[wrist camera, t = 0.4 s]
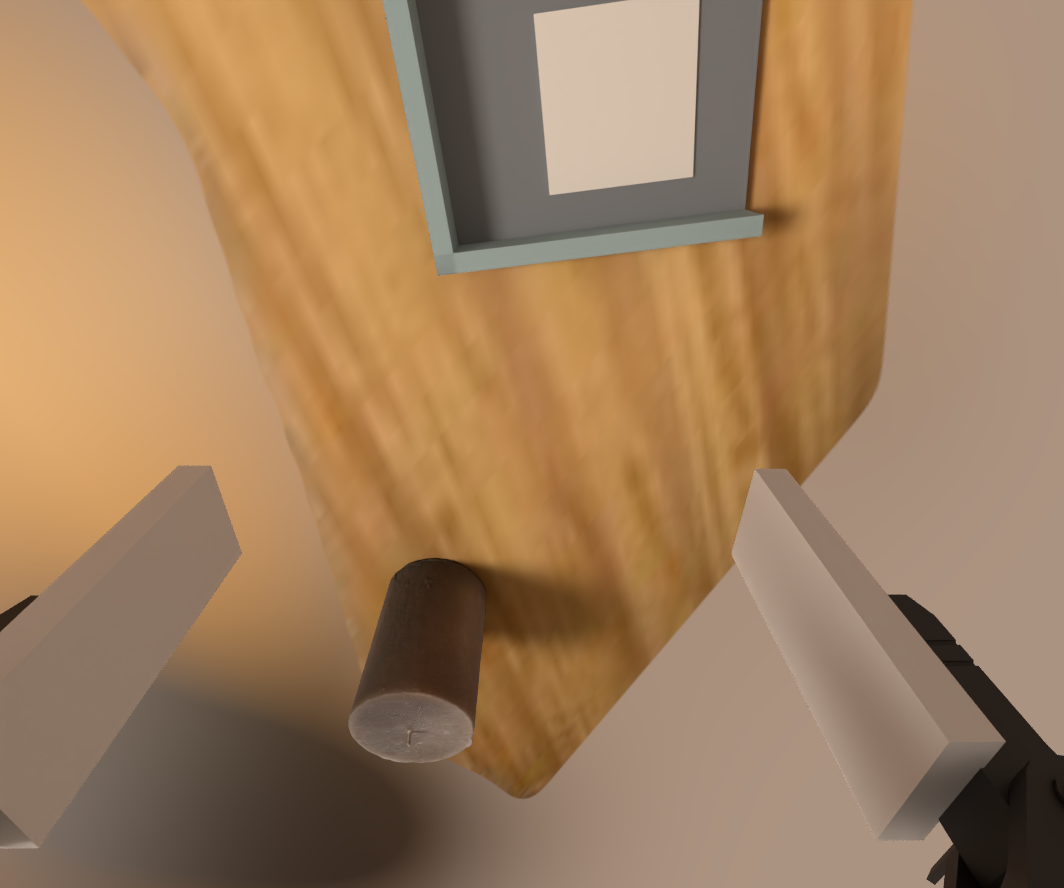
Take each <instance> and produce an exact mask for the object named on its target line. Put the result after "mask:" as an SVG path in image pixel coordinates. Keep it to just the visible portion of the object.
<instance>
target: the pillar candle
mask: <svg viewBox="0 0 1064 888" xmlns="http://www.w3.org/2000/svg"><path fill="white" fill-rule="evenodd" d="M485 606H486V593H485V589H484V586H483V584H482V582H481V581H480V580H479V578H478V577H477V576H475V575H474V574H473V573H472V572H471V571H470V570H468V569H467V568H466V567H464V566H462V565H460V564H458V563H454V562H452V561H447V560H440V559H426V560H421V561H416V562H413V563H410V564H407V565H406V566H405V567H403V568H402V569H401V570H400V571H398V572H397V573H396V574H395V575H394V577H393V578H392V580H391V582H390V584H389V588H388V591H387V594H386V598H385V601H384V604H383V607H382V610H381V614H380V617H379V620H378V624H377V627H376V630H375V634H374V637H373V641H372V644H371V647H370V651H369V654H368V658H367V661H366V664H365V668H364V671H363V674H362V677H361V680H360V684H359V687H358V690H357V694H356V697H355V700H354V704H353V707H352V710H351V713H350V718H349V729H350V732H351V735H352V736H353V738H354V739H355V740H356V741H357V742H358V743H359V744H360V745H361V746H362V747H364V748H365V749H366V750H368V751H370V752H372V753H374V754H376V755H378V756H380V757H381V758H383V759H390V760H392V761H396V762H405V763H407V762H417V763H418V762H420V763H425V762H435V761H438V760H442V759H445V758H449V757H452V756H454V755H455V754H458V753H459V752H461V751H462V750H464V749H465V748H466V747H469V746H470V745H471V744H472V742H473V740H472V737H473V733H474V727H475V715H476V703H477V695H478V682H479V672H480V660H481V652H482V642H483V629H484V623H485Z"/></svg>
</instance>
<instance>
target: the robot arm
mask: <svg viewBox="0 0 1064 888" xmlns="http://www.w3.org/2000/svg"><path fill="white" fill-rule="evenodd" d="M241 554H242V552H241V549H240V546H239V543H238V541H237V538H236V535H235V532H234V530H233V527H232V524H231V521H230V518H229V515H228V513H227V510H226V507H225V505H224V501H223V499H222V496H221V493H220V490H219V487H218V484H217V481H216V479H215V476H214V473H213V470H212V467H211V466H178V467H177V468H176V469H175V470H173V471H172V472H171V473H170V474H169V475H168V476H167V477H166V478H165V479H164V480H163V481H162V482H160V483H159V484H158V485H157V486H156V487H155V488H154V489H153V490H152V491H151V492H150V493H149V494H148V495H147V496H145V497H144V498H143V499H142V500H141V501H140V502H139V503H138V504H137V505H136V506H135V507H134V508H133V509H132V510H130V511H129V512H128V513H127V514H126V515H125V516H124V517H123V518H122V519H121V520H120V521H119V522H118V523H117V524H115V525H114V526H113V527H112V528H111V529H110V530H109V531H108V532H107V533H106V534H105V535H104V536H103V537H102V538H101V539H100V540H98V541H97V542H96V543H95V544H94V545H93V546H92V547H91V548H90V549H89V550H88V551H87V552H86V553H84V554H83V555H82V556H81V557H80V558H79V559H78V560H77V561H76V562H75V563H74V564H73V565H72V566H70V568H68V569H67V570H66V571H65V572H64V573H63V574H62V575H61V576H60V577H59V578H58V579H57V580H55V581H54V582H53V583H52V584H51V585H50V586H49V587H48V588H47V589H46V590H45V591H44V592H43V593H42V594H40V596H30V597H28V598H27V599H25V600H23V601H22V602H20V603H18V604H17V605H15V606H13V607H12V608H10V609H9V610H7V611H5V612H4V613H2V614H0V848H39V847H40V846H41V844H42V843H43V841H44V840H45V839H46V837H47V836H48V834H49V832H50V831H51V830H52V828H53V827H54V825H55V824H56V823H57V821H58V820H59V818H60V817H61V815H62V814H63V812H64V811H65V809H66V808H67V807H68V805H69V804H70V802H71V801H72V799H73V798H74V796H75V795H76V793H77V792H78V791H79V789H80V788H81V786H82V785H83V783H84V782H85V780H86V779H87V777H88V776H89V775H90V773H91V772H92V770H93V769H94V767H95V766H96V764H97V763H98V761H99V760H100V759H101V757H102V756H103V754H104V753H105V751H106V750H107V748H108V747H109V745H110V744H111V743H112V741H113V740H114V738H115V737H116V735H117V734H118V732H119V731H120V730H121V728H122V727H123V725H124V724H125V722H126V721H127V719H128V718H129V717H130V715H131V714H132V712H133V711H134V709H135V708H136V706H137V705H138V703H139V702H140V701H141V699H142V697H143V696H144V695H145V693H146V692H147V690H148V689H149V687H150V686H151V685H152V683H153V682H154V680H155V679H156V677H157V676H158V674H159V673H160V671H161V670H162V669H163V667H164V666H165V664H166V663H167V661H168V660H169V658H170V657H171V655H172V654H173V653H174V651H175V650H176V648H177V647H178V645H179V643H180V642H181V641H182V639H183V638H184V636H185V635H186V634H187V632H188V631H189V629H190V628H191V626H192V625H193V624H194V622H195V621H196V619H197V618H198V616H199V615H200V613H201V612H202V610H203V609H204V608H205V606H206V605H207V603H208V602H209V600H210V599H211V597H212V595H213V594H214V593H215V592H216V590H217V588H218V587H219V586H220V584H221V583H222V581H223V580H224V578H225V577H226V576H227V574H228V572H229V571H230V570H231V568H232V567H233V565H234V564H235V562H236V561H237V560H238V558H239V556H240V555H241ZM731 555H732V557H733V559H734V561H735V562H736V564H737V566H738V568H739V570H740V572H741V574H742V576H743V578H744V580H745V582H746V584H747V586H748V588H749V590H750V592H751V594H752V596H753V598H754V600H755V602H756V604H757V606H758V608H759V610H760V612H761V614H762V616H763V618H764V620H765V622H766V624H767V626H768V628H769V630H770V632H771V634H772V636H773V638H774V640H775V642H776V643H777V646H778V648H779V650H780V652H781V654H782V656H783V657H784V659H785V661H786V663H787V665H788V667H789V669H790V671H791V673H792V675H793V677H794V679H795V681H796V683H797V685H798V687H799V689H800V691H801V693H802V695H803V697H804V699H805V701H806V703H807V705H808V707H809V709H810V711H811V713H812V715H813V717H814V719H815V721H816V723H817V724H818V727H819V729H820V731H821V733H822V735H823V737H824V739H825V740H826V743H827V745H828V746H829V749H830V750H831V752H832V754H833V756H834V758H835V760H836V762H837V764H838V766H839V768H840V770H841V772H842V774H843V776H844V778H845V780H846V782H847V784H848V786H849V788H850V790H851V792H852V794H853V796H854V798H855V800H856V802H857V804H858V806H859V808H860V810H861V812H862V814H863V816H864V817H865V820H866V822H867V824H868V826H869V828H870V829H871V832H872V834H873V836H874V838H875V840H876V841H882V840H883V841H886V840H887V841H888V840H924V838H926V836H927V835H928V834H929V833H930V832H931V830H932V829H933V828H934V827H935V825H936V824H937V823H938V822H939V821H940V823H941V824H942V826H943V827H944V829H945V831H946V833H947V834H948V836H949V837H950V839H951V841H952V842H953V845H952V846H951V847H950V848H949V849H948V851H947V852H946V853H945V854H944V855H943V856H942V857H941V858H940V859H939V860H938V862H937V863H936V864H935V865H934V866H933V867H932V868H931V871H930V873H929V875H928V877H927V880H928V881H930V882H932V883H933V884H934V885H935V884H936V883H937V882H938V881H939V880H940V879H941V878H942V877H943V876H944V875H945V878H944V888H1064V756H1061V755H1057V754H1056V753H1055V752H1054V751H1053V750H1052V749H1051V748H1050V747H1049V746H1048V745H1047V744H1046V743H1045V742H1044V741H1043V740H1042V738H1040V736H1039V735H1038V734H1037V733H1036V732H1035V730H1034V729H1033V728H1032V727H1031V726H1030V725H1029V724H1028V723H1027V721H1026V720H1025V719H1024V718H1023V717H1022V715H1021V714H1020V713H1019V712H1018V711H1017V710H1016V709H1015V707H1014V706H1013V705H1012V704H1011V703H1010V702H1009V701H1008V699H1007V698H1006V697H1005V696H1004V695H1003V694H1002V692H1001V691H1000V690H999V689H998V688H997V687H996V686H995V684H994V683H993V682H992V681H991V680H990V679H989V678H988V676H987V675H986V674H985V673H984V672H983V671H982V670H981V668H980V667H979V666H975V665H974V663H973V659H972V658H971V657H970V656H969V655H968V653H967V652H966V651H965V650H964V649H963V648H962V647H961V646H960V645H957V644H956V640H955V639H954V637H952V635H951V634H950V633H949V632H948V630H947V629H946V628H945V627H944V626H943V625H942V624H941V622H940V621H939V620H938V619H937V618H936V617H935V616H934V615H933V614H932V613H930V612H929V611H928V610H926V609H925V608H924V607H922V606H921V605H919V604H918V603H917V602H915V601H914V600H913V599H911V598H910V597H908V596H907V595H887V594H886V592H885V591H884V590H883V589H882V588H881V586H880V585H879V584H878V582H877V581H876V580H875V579H874V577H873V576H872V575H871V574H870V573H869V571H868V570H867V569H866V567H865V566H864V565H863V564H862V563H861V561H860V560H859V559H858V558H857V556H856V555H855V554H854V553H853V552H852V550H851V549H850V548H849V546H848V545H847V544H846V543H845V541H844V540H843V539H842V538H841V536H840V535H839V534H838V533H837V531H836V530H835V529H834V528H833V527H832V525H831V524H830V523H829V522H828V520H827V519H826V518H825V517H824V515H823V514H822V513H821V512H820V510H819V509H818V508H817V507H816V505H815V504H814V503H813V502H812V500H811V499H810V498H809V497H808V496H807V494H806V493H805V492H804V491H803V489H802V488H801V487H800V486H799V484H798V483H797V482H796V481H795V479H794V478H793V477H792V476H791V474H790V473H789V472H788V471H787V469H755V471H754V475H753V478H752V482H751V485H750V489H749V493H748V496H747V500H746V503H745V507H744V510H743V514H742V518H741V521H740V525H739V528H738V532H737V536H736V539H735V543H734V546H733V550H732V554H731Z"/></svg>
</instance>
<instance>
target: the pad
mask: <svg viewBox="0 0 1064 888" xmlns="http://www.w3.org/2000/svg"><path fill="white" fill-rule="evenodd" d="M534 25H535V37H536V48H537V59H538V70H539V82H540V93H541V104H542V115H543V127H544V138H545V149H546V161H547V172H548V183H549V194H550V195H556V194H564V193H572V192H579V191H587V190H595V189H603V188H610V187H618V186H626V185H634V184H641V183H649V182H657V181H665V180H673V179H680V178H688V177H693V163H694V135H695V108H696V81H697V53H698V26H699V0H626V1H619V2H612V3H606V4H599V5H592V6H585V7H578V8H571V9H564V10H557V11H550V12H544V13H537V14H534Z"/></svg>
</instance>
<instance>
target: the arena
mask: <svg viewBox="0 0 1064 888" xmlns="http://www.w3.org/2000/svg"><path fill="white" fill-rule="evenodd" d="M619 1H626V0H383V5H384V10H385V15H386V20H387V25H388V30H389V35H390V40H391V45H392V50H393V55H394V60H395V65H396V70H397V75H398V79H399V84H400V89H401V94H402V99H403V104H404V109H405V114H406V119H407V124H408V129H409V134H410V139H411V144H412V149H413V154H414V159H415V164H416V169H417V174H418V179H419V184H420V189H421V194H422V199H423V204H424V209H425V214H426V219H427V224H428V229H429V234H430V239H431V244H432V249H433V254H434V259H435V264H436V269H437V274H438V276H440V275H448V274H456V273H464V272H472V271H480V270H488V269H497V268H505V267H513V266H521V265H529V264H537V263H546V262H554V261H562V260H570V259H578V258H586V257H594V256H603V255H611V254H619V253H627V252H635V251H643V250H652V249H660V248H668V247H676V246H684V245H692V244H700V243H709V242H717V241H725V240H733V239H741V238H749V237H758V236H762V228H763V218H764V215H763V214H760V213H756V212H753V211H749V210H745V205H746V193H747V181H748V169H749V158H750V146H751V134H752V122H753V110H754V98H755V86H756V74H757V62H758V50H759V38H760V26H761V15H762V3H763V0H699V26H698V53H697V81H696V108H695V135H694V163H693V177H688V178H680V179H673V180H665V181H657V182H649V183H641V184H634V185H626V186H618V187H610V188H603V189H595V190H587V191H579V192H572V193H564V194H556V195H550V194H549V183H548V172H547V161H546V149H545V138H544V127H543V115H542V104H541V93H540V82H539V70H538V59H537V48H536V37H535V25H534V14H537V13H544V12H550V11H557V10H564V9H571V8H578V7H585V6H592V5H599V4H606V3H612V2H619Z"/></svg>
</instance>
